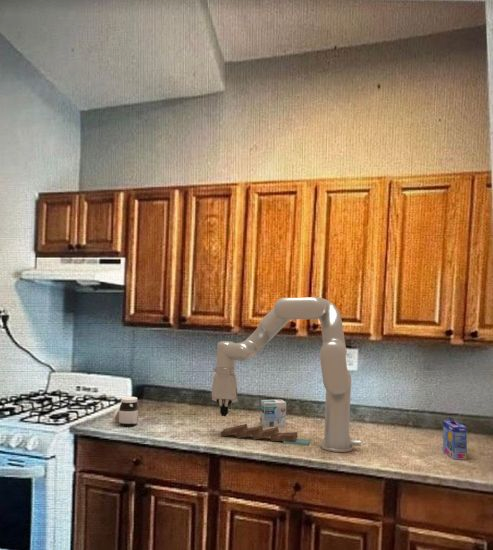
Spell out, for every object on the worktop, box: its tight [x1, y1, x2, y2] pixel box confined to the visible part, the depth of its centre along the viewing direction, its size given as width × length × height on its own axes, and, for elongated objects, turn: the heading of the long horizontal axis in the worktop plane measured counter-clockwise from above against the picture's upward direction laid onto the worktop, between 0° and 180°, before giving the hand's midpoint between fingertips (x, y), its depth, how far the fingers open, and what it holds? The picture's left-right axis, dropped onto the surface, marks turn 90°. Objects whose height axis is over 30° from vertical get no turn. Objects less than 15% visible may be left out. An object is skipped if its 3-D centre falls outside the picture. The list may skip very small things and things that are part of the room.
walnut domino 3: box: [251, 426, 280, 441], centre depth 210 cm, size 2×5×10 cm
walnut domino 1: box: [220, 423, 249, 437], centre depth 213 cm, size 2×5×10 cm
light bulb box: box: [259, 399, 287, 428], centre depth 234 cm, size 11×7×11 cm, turn 105°
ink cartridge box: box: [442, 416, 468, 461], centre depth 197 cm, size 10×6×14 cm, turn 2°
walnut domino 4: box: [269, 431, 299, 442], centre depth 208 cm, size 2×5×10 cm
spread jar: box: [112, 396, 139, 428], centre depth 227 cm, size 12×11×12 cm
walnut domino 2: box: [236, 425, 264, 439], centre depth 212 cm, size 2×5×10 cm
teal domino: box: [282, 438, 311, 447], centre depth 207 cm, size 2×5×10 cm
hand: (224, 415), depth 215 cm, fingers closed
